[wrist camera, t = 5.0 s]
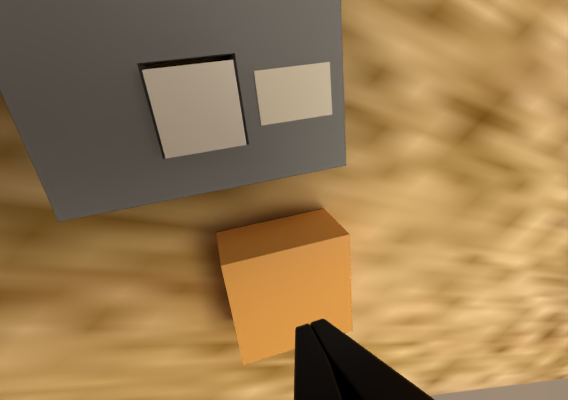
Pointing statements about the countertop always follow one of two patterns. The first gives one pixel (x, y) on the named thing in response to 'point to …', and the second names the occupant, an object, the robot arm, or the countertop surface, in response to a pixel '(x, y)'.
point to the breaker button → (196, 107)
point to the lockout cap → (285, 279)
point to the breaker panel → (136, 104)
